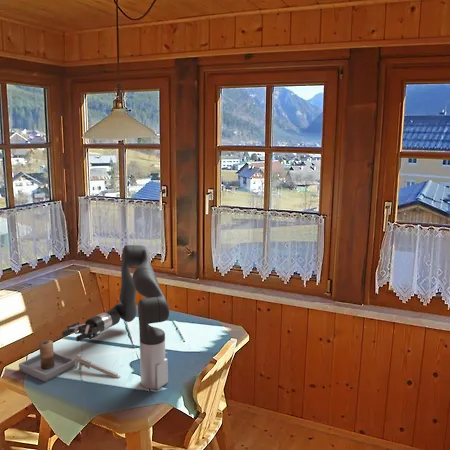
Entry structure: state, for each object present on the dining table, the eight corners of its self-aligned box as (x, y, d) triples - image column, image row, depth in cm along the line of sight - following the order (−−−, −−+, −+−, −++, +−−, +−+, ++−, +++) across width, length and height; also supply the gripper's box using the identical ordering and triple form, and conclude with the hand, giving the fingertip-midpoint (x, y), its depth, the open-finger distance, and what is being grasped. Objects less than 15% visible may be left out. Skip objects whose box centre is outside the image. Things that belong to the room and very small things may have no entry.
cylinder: (57, 365, 189) (55, 341, 187) (46, 370, 185) (44, 346, 183) (48, 362, 191) (47, 338, 189) (38, 367, 187) (36, 343, 185)
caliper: (74, 369, 189) (73, 354, 187) (76, 367, 190) (75, 353, 188) (119, 378, 182) (118, 363, 180) (120, 377, 182) (120, 362, 181)
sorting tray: (75, 366, 190) (75, 359, 189) (46, 382, 178) (45, 374, 178) (49, 356, 198) (48, 349, 197) (19, 370, 186) (18, 363, 186)
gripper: (87, 312, 212) (57, 324, 198) (110, 318, 205) (81, 332, 191) (88, 328, 213) (58, 341, 200) (111, 335, 206) (82, 349, 193)
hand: (69, 336), depth 196 cm, fingers open, 8 cm apart
